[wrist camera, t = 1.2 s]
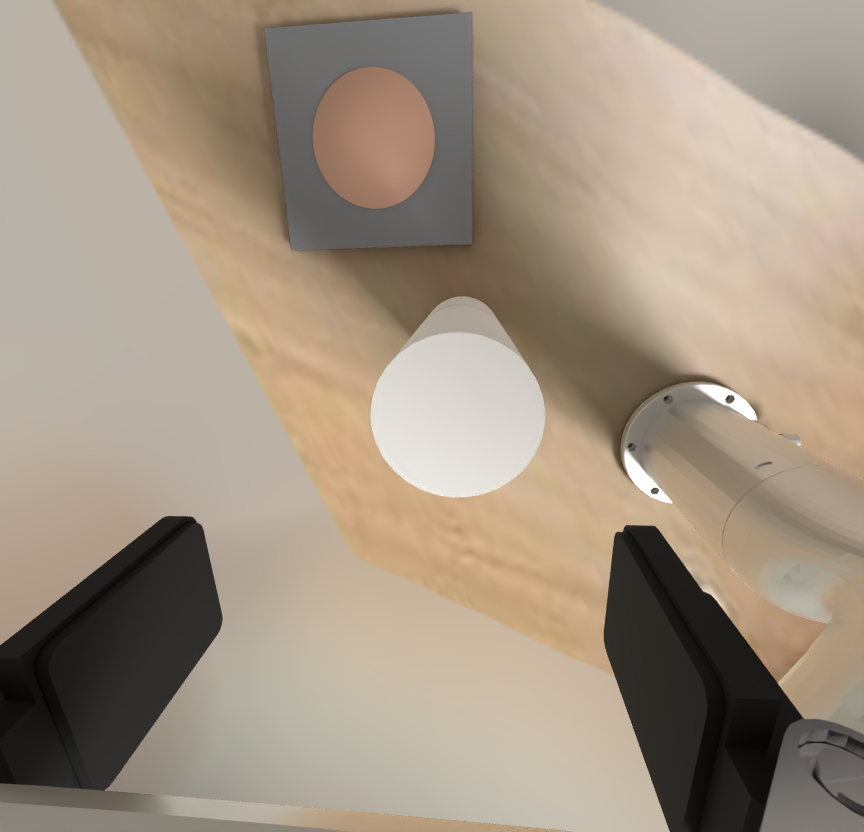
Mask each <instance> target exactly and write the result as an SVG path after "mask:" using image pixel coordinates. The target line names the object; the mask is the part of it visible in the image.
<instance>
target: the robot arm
mask: <svg viewBox="0 0 864 832" xmlns="http://www.w3.org/2000/svg"><path fill="white" fill-rule="evenodd" d="M665 396H667V397H666V399H664V397H665ZM663 399H664V400H663ZM800 442H801V440H800V437H799V436H798V435H797V434H777V433H775V432H773V431H771V430H769V429H767V428H765V427H763V426H762V425H760V424H759V421H758V419H757V416H756V414H755V412H754V410H753V408H752V407H751V406H750V404H749V403H748V402H747V401H746V400H745V399H744V398H743V397H742V396H740V395H739V394H738V393H736V392H734V391H732V390H730V389H728V388H726V387H724V386H721V385H718V384H716V383H710V382H704V381H692V382H685V383H679V384H675V385H673V386H670V387H667V388H664V389H662V390H661V391H659V392H657V393H655V394H653V395H652V396H650V397H649V398H648V399H647V400H645V401H644V402H643V403H642V404H641V405H640V406H639V407H638V408H637V409H636V410H635V412H634V413H633V414H632V416H631V417H630V419H629V421H628V422H627V424H626V426H625V429H624V431H623V434H622V439H621V445H620V451H621V460H622V464H623V467H624V469H625V471H626V473H627V475H628V477H629V478H630V479H631V480H632V482H633V483H634V484H635V485H636V486H637V487H638V488H639V489H640V490H641V491H642V492H643V493H645V494H646V495H648V496H649V497H651V498H654V499H657V500H659V501H662V502H667V503H672V504H674V505H675V506H676V507H677V509H678V510H679V511H680V512H681V513H682V514H683V515H684V516H685V518H686V519H687V520H688V521H689V522H690V523H691V524H692V525H693V527H694V528H695V529H696V530H697V531H698V532H699V533H700V534H701V536H702V537H703V538H704V539H705V540H706V541H707V542H708V543H709V545H710V546H711V547H712V548H713V549H714V550H715V551H716V552H717V553H718V555H719V556H720V557H721V558H722V559H723V560H724V561H725V562H726V564H727V565H728V566H729V567H730V568H731V569H732V570H733V571H734V572H735V574H736V575H737V576H738V577H739V578H740V579H741V580H742V581H743V582H744V584H746V585H747V586H748V587H749V588H750V589H751V590H752V591H753V592H754V593H755V594H757V595H758V596H759V597H761V598H762V599H763V600H765V601H766V602H768V603H770V604H772V605H774V606H775V607H777V608H779V609H781V610H784V611H786V612H788V613H791V614H794V615H797V616H800V617H803V618H807V619H810V620H815V621H819V622H824V623H829V624H828V625H827V627H826V628H825V629H824V630H823V632H822V633H821V634H820V635H819V637H818V638H817V639H816V640H815V641H814V642H813V643H812V644H811V646H810V649H809V650H808V651H807V652H806V653H805V654H804V655H803V656H802V658H801V659H800V660H799V661H798V662H797V663H796V664H795V665H794V666H793V667H792V668H791V669H790V670H789V671H788V672H787V674H786V675H785V676H784V677H783V678H782V679H781V680H780V681H779V682H778V683H777V682H776V680H775V679H774V678H773V676H772V675H771V674H770V672H769V671H768V670H767V668H766V667H765V666H764V664H763V663H762V662H761V660H760V659H759V658H758V656H757V655H756V653H755V652H754V651H753V649H752V648H751V647H750V645H749V644H748V643H747V641H746V640H745V639H744V637H743V636H742V635H741V633H740V632H739V631H738V629H737V628H736V627H735V625H734V624H733V623H732V621H731V620H730V619H729V617H728V616H727V614H726V613H725V612H724V610H723V609H722V608H721V606H720V605H719V604H718V602H717V601H716V600H715V599H714V598H713V597H712V596H711V595H710V594H708V593H706V592H703V591H702V589H701V588H700V587H699V585H698V584H697V582H696V581H695V580H694V578H693V577H692V575H691V574H690V573H689V571H688V570H687V569H686V567H685V566H684V564H683V563H682V562H681V560H680V559H679V557H678V556H677V555H676V553H675V552H674V551H673V549H672V548H671V546H670V545H669V544H668V542H667V541H666V540H665V538H664V537H663V535H662V534H661V533H660V531H659V530H658V529H657V528H656V527H655V526H637V525H626V526H625V527H624V530H623V532H617V533H616V534H615V537H614V545H613V554H612V563H611V572H610V581H609V590H608V599H607V608H606V617H605V626H604V643H605V649H606V652H607V655H608V658H609V661H610V663H611V666H612V669H613V672H614V675H615V678H616V680H617V683H618V686H619V689H620V692H621V694H622V697H623V700H624V703H625V706H626V709H627V712H628V714H629V717H630V720H631V723H632V726H633V729H634V732H635V734H636V737H637V740H638V743H639V746H640V748H641V751H642V754H643V757H644V760H645V763H646V766H647V768H648V771H649V774H650V777H651V780H652V783H653V785H654V788H655V791H656V794H657V797H658V799H659V803H660V805H661V808H662V811H663V814H664V817H665V819H666V822H667V825H668V828H669V830H670V832H864V479H863V478H861V477H859V476H857V475H855V474H853V473H851V472H849V471H848V470H846V469H844V468H842V467H840V466H838V465H836V464H834V463H832V462H830V461H828V460H826V459H825V458H823V457H821V456H819V455H817V454H815V453H813V452H811V451H809V450H807V449H805V448H804V447H802V446H800ZM630 443H631V445H629V444H630ZM628 445H629V446H628ZM221 625H222V612H221V607H220V603H219V598H218V594H217V589H216V585H215V581H214V576H213V571H212V567H211V562H210V558H209V553H208V549H207V544H206V540H205V535H204V530H203V528H202V526H201V525H200V524H199V523H197V522H196V520H195V519H194V518H193V517H186V516H167V517H164V518H162V519H161V520H159V521H158V522H157V523H156V524H154V525H153V526H152V527H150V528H149V529H148V530H147V531H145V532H144V533H143V534H142V535H140V536H139V537H138V538H136V539H135V540H134V541H133V542H131V543H130V544H129V545H127V546H126V547H125V548H124V549H122V550H121V551H120V552H119V553H117V554H116V555H115V556H113V557H112V558H111V559H110V560H108V561H107V562H106V563H105V564H103V565H102V566H101V567H99V568H98V569H97V570H96V571H94V572H93V573H92V574H91V575H89V576H88V577H87V578H86V579H84V580H83V581H82V582H80V583H79V584H78V585H77V586H76V587H74V588H73V589H72V590H70V591H69V592H68V593H66V594H65V595H64V596H63V597H62V598H60V599H59V600H58V601H56V602H55V603H54V604H52V605H51V606H50V607H49V608H47V609H46V610H45V611H43V612H42V613H41V614H40V615H39V616H37V617H36V618H35V619H33V620H32V621H31V622H29V623H28V624H27V625H26V626H24V627H23V628H22V629H21V630H19V631H18V632H17V633H15V634H14V635H13V636H12V637H10V638H9V639H8V640H7V641H5V642H4V643H3V644H1V645H0V832H570V831H561V830H552V829H543V828H532V827H521V826H510V825H498V824H488V823H476V822H466V821H455V820H444V819H433V818H422V817H411V816H400V815H389V814H378V813H366V812H355V811H343V810H332V809H320V808H309V807H297V806H285V805H274V804H261V803H250V802H238V801H226V800H213V799H202V798H190V797H178V796H164V795H151V794H138V793H126V792H113V791H104V790H105V789H106V788H108V787H109V786H110V784H111V783H112V782H113V781H114V779H115V778H116V776H117V775H118V774H119V773H120V771H121V770H122V768H123V767H124V765H125V764H126V763H127V761H128V760H129V758H130V757H131V755H132V754H133V753H134V751H135V750H136V749H137V747H138V746H139V744H140V743H141V742H142V740H143V739H144V737H145V735H146V734H147V733H148V732H149V730H150V729H151V727H152V726H153V725H154V723H155V722H156V720H157V719H158V718H159V716H160V715H161V713H162V712H163V710H164V709H165V707H166V706H167V705H168V703H169V702H170V701H171V699H172V698H173V696H174V695H175V694H176V692H177V691H178V689H179V688H180V687H181V685H182V683H183V682H184V681H185V679H186V678H187V677H188V675H189V674H190V672H191V671H192V670H193V668H194V667H195V665H196V664H197V663H198V661H199V660H200V658H201V657H202V655H203V654H204V653H205V651H206V650H207V648H208V647H209V646H210V644H211V643H212V641H213V640H214V639H215V637H216V636H217V634H218V633H219V631H220V628H221Z"/></svg>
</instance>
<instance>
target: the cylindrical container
mask: <svg viewBox="0 0 864 832" xmlns="http://www.w3.org/2000/svg"><path fill="white" fill-rule="evenodd" d="M544 424H545V407H544V400H543V395H542V392H541V390H540V387H539V384H538V381H537V379H536V378H535V376H534V375H533V373H532V372H531V370H530V368H529V367H528V365H527V364H526V362H525V361H524V359H523V358H522V356H521V354H520V353H519V351H518V350H517V348H516V347H515V345H514V344H513V342H512V341H511V339H510V337H509V336H508V334H507V333H506V331H505V330H504V328H503V327H502V325H501V324H500V322H499V321H498V319H497V318H496V316H495V315H494V313H493V312H492V310H491V309H490V308H489V307H488V306H487V305H486V304H484V303H483V302H481V301H480V300H478V299H475V298H472V297H467V296H457V297H453V298H449V299H447V300H445V301H443V302H442V303H440V304H439V305H437V306H436V307H435V309H434V310H433V311H432V312H431V313H430V314H429V316H428V317H427V318H426V319H425V320H424V322H423V323H422V324H421V325H420V327H419V328H418V329H417V330H416V331H415V333H414V334H413V335H412V336H411V338H410V339H409V340H408V341H407V342H406V344H405V345H404V346H403V347H402V349H401V350H400V351H399V352H398V353H397V355H396V356H395V357H394V358H393V359H392V361H391V362H390V363H389V364H388V366H387V367H386V368H385V370H384V372H383V374H382V375H381V377H380V379H379V380H378V382H377V385H376V388H375V391H374V394H373V397H372V405H371V426H372V430H373V434H374V438H375V442H376V444H377V446H378V448H379V450H380V452H381V454H382V456H383V458H384V459H385V460H386V461H387V463H388V464H389V465H390V467H391V468H392V469H393V470H394V471H395V472H396V473H397V474H398V475H400V476H401V477H402V478H403V479H404V480H405V481H407V482H409V483H410V484H412V485H414V486H415V487H417V488H419V489H421V490H424V491H427V492H429V493H432V494H435V495H441V496H446V497H470V496H477V495H481V494H484V493H487V492H490V491H493V490H496V489H498V488H499V487H501V486H503V485H505V484H506V483H508V482H510V481H511V480H512V479H514V478H515V477H516V476H517V475H518V474H519V473H521V472H522V471H523V470H524V468H525V467H526V466H527V465H528V463H529V462H530V461H531V459H532V458H533V457H534V455H535V453H536V451H537V449H538V446H539V444H540V442H541V438H542V435H543V431H544Z"/></svg>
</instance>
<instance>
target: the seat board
mask: <svg viewBox="0 0 864 832" xmlns="http://www.w3.org/2000/svg"><path fill="white" fill-rule="evenodd" d="M264 33H265V41H266V49H267V57H268V66H269V74H270V82H271V90H272V98H273V106H274V115H275V123H276V131H277V139H278V147H279V155H280V164H281V172H282V180H283V188H284V196H285V204H286V213H287V221H288V229H289V237H290V245H291V250H296V251H302V250H330V249H358V248H386V247H414V246H442V245H470V244H472V12H468V13H455V14H442V15H429V16H416V17H403V18H390V19H377V20H364V21H351V22H338V23H325V24H312V25H299V26H286V27H273V28H264Z"/></svg>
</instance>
